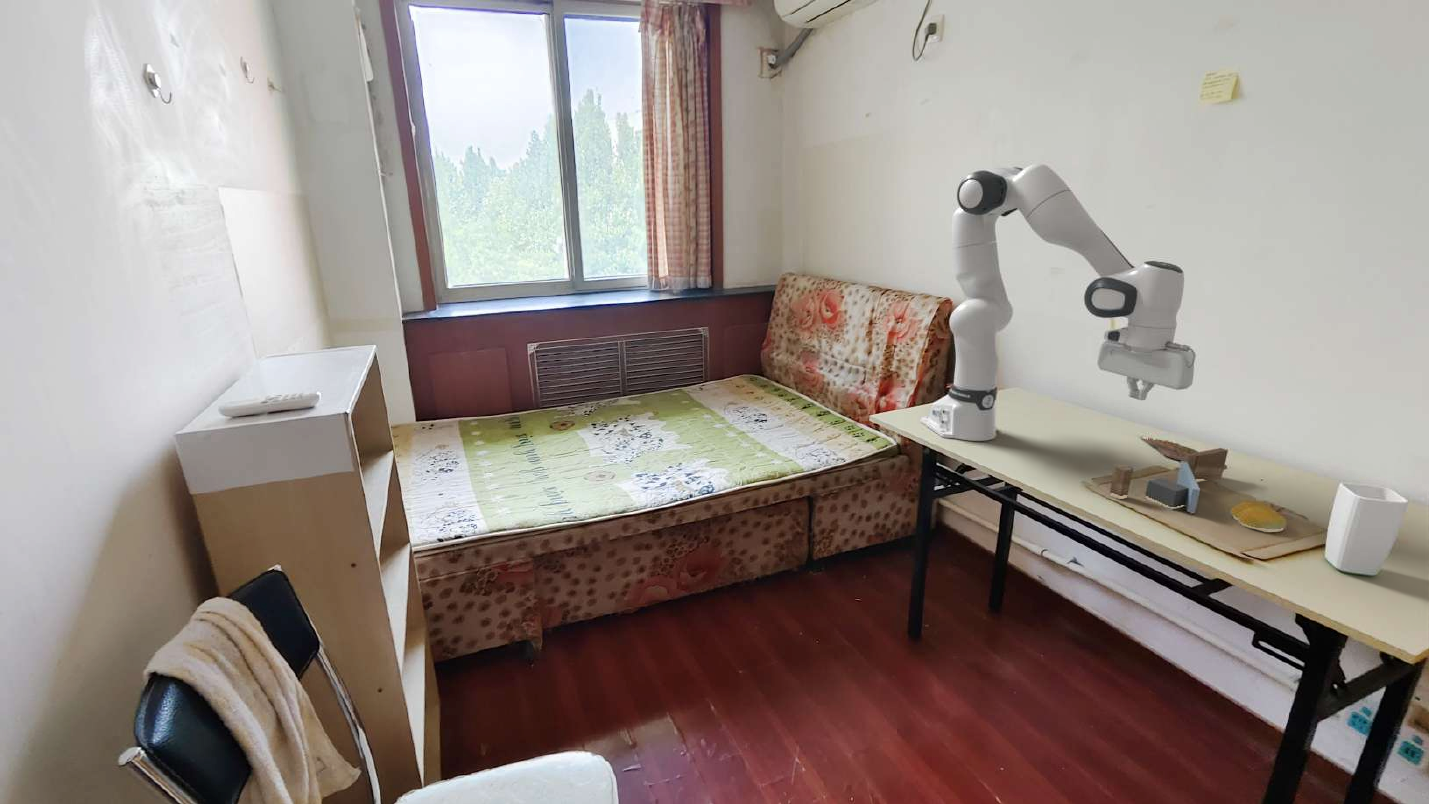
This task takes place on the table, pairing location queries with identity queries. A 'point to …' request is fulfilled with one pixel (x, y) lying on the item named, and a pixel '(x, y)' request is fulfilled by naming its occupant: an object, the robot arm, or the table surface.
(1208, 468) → the block
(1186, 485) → the gate
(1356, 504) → the cup
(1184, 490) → the block
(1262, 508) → the bread roll
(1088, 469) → the table surface
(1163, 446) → the wooden fragment
